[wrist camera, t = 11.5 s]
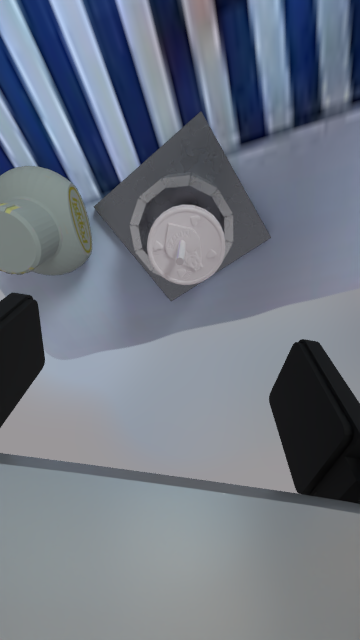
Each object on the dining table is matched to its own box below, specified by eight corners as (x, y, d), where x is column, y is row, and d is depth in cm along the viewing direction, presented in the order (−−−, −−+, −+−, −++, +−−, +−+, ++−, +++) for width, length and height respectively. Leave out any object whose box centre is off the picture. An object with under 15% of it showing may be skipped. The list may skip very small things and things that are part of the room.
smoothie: (196, 178, 28) (199, 195, 16) (227, 231, 30) (250, 281, 18) (147, 215, 30) (116, 255, 18) (180, 262, 32) (172, 325, 20)
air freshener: (101, 262, 34) (70, 298, 25) (38, 267, 35) (-12, 303, 26) (76, 161, 28) (25, 163, 20) (2, 169, 29) (-78, 175, 21)
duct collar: (200, 112, 26) (202, 102, 21) (268, 235, 31) (283, 251, 26) (96, 205, 30) (76, 215, 25) (171, 297, 36) (167, 321, 31)
